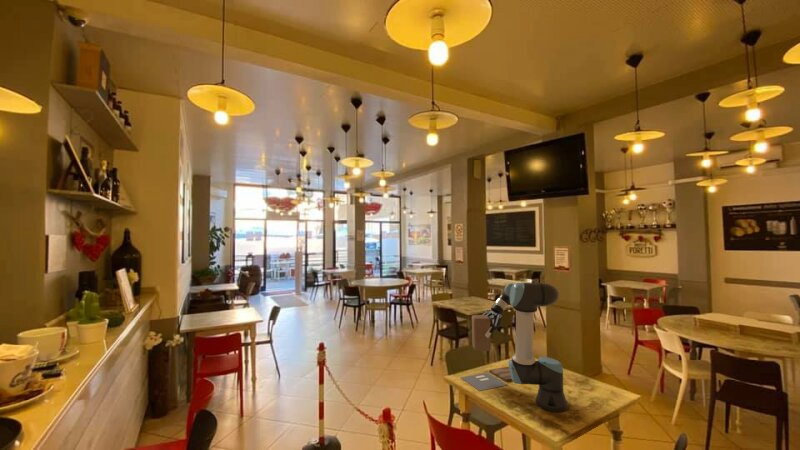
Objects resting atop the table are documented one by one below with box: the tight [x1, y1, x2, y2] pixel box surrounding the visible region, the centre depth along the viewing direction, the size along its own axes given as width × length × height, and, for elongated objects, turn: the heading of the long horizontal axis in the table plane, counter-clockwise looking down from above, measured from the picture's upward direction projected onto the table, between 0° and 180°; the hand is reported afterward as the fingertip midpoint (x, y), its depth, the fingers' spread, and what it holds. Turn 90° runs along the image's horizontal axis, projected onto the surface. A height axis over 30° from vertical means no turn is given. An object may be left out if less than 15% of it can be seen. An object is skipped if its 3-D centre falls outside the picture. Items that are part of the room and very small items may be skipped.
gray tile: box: [460, 372, 508, 392], centre depth 205 cm, size 20×20×1 cm
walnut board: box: [489, 366, 513, 383], centre depth 214 cm, size 16×16×2 cm
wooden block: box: [471, 314, 492, 352], centre depth 210 cm, size 10×10×20 cm
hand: (479, 333), depth 210 cm, fingers closed on wooden block, 12 cm apart
